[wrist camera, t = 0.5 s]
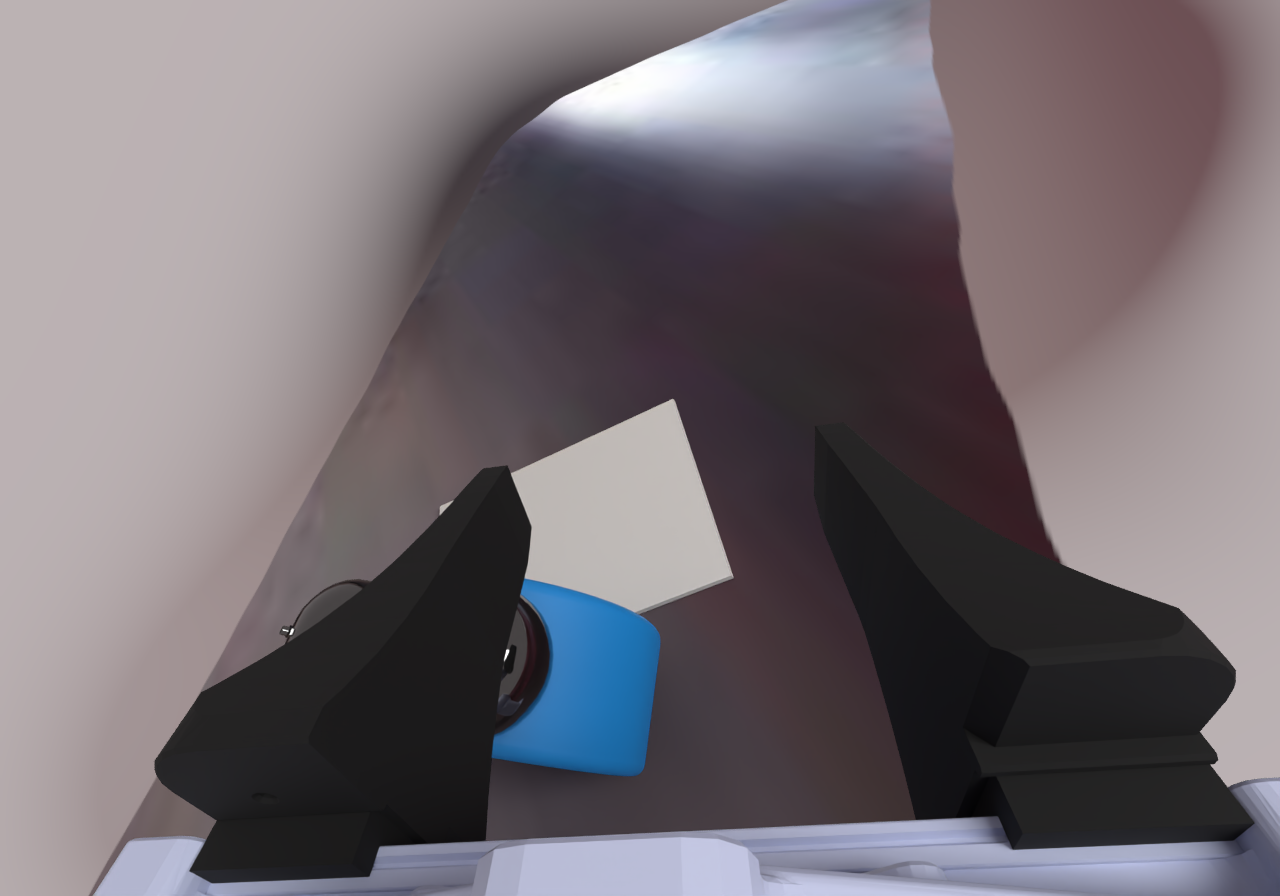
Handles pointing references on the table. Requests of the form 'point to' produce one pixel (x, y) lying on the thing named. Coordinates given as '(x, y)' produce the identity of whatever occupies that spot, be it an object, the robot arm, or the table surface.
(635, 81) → the table surface
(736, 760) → the table surface
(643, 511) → the mat
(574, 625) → the alarm clock
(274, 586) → the table surface
